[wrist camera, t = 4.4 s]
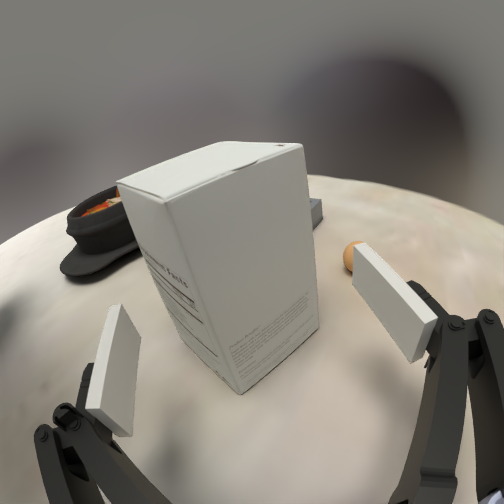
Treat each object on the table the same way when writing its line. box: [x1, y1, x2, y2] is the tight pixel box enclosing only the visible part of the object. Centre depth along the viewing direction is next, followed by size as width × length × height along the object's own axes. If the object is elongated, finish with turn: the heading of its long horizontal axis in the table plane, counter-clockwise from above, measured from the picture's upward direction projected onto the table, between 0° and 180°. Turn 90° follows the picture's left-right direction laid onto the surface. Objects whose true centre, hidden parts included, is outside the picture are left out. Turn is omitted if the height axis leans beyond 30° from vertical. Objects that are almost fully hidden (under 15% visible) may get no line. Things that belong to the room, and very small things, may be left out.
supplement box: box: [116, 141, 319, 394], centre depth 20 cm, size 9×9×15 cm
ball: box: [343, 241, 371, 272], centre depth 27 cm, size 3×3×3 cm
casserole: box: [60, 186, 139, 276], centre depth 43 cm, size 25×19×8 cm
